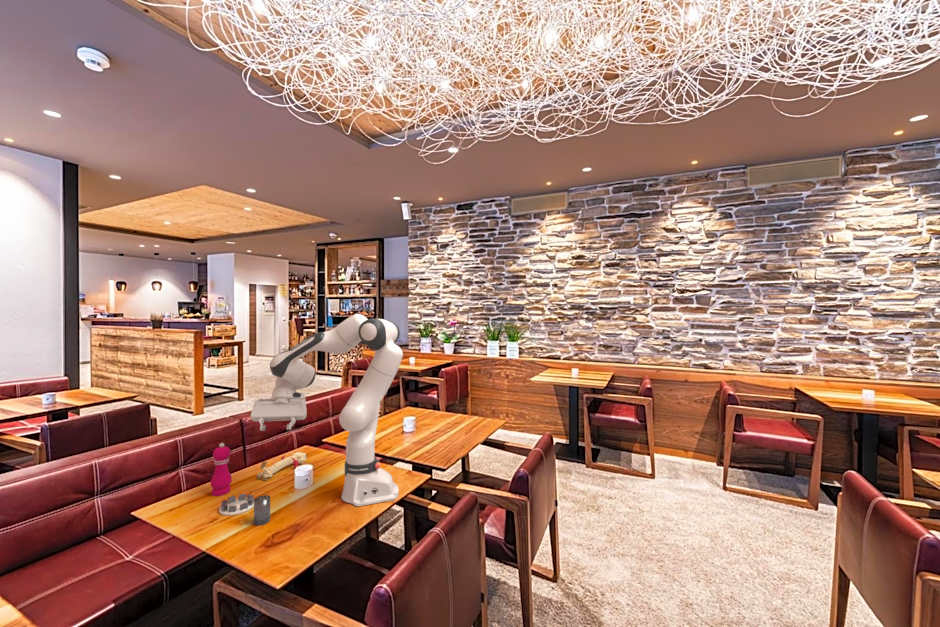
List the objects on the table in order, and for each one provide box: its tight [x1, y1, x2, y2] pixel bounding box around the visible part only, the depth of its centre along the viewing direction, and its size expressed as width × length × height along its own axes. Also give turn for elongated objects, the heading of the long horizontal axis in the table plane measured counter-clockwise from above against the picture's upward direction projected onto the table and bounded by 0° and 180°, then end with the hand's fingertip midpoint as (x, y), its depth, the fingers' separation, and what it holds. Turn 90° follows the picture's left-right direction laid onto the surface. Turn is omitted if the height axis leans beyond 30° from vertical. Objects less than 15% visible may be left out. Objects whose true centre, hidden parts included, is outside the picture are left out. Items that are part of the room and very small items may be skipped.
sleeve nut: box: [253, 494, 271, 526], centre depth 134 cm, size 5×5×8 cm
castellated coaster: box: [218, 493, 255, 516], centre depth 144 cm, size 12×12×3 cm
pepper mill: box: [210, 442, 233, 497], centre depth 155 cm, size 7×7×20 cm
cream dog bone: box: [255, 451, 308, 482], centre depth 178 cm, size 10×9×25 cm
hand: (275, 429), depth 149 cm, fingers open, 8 cm apart
